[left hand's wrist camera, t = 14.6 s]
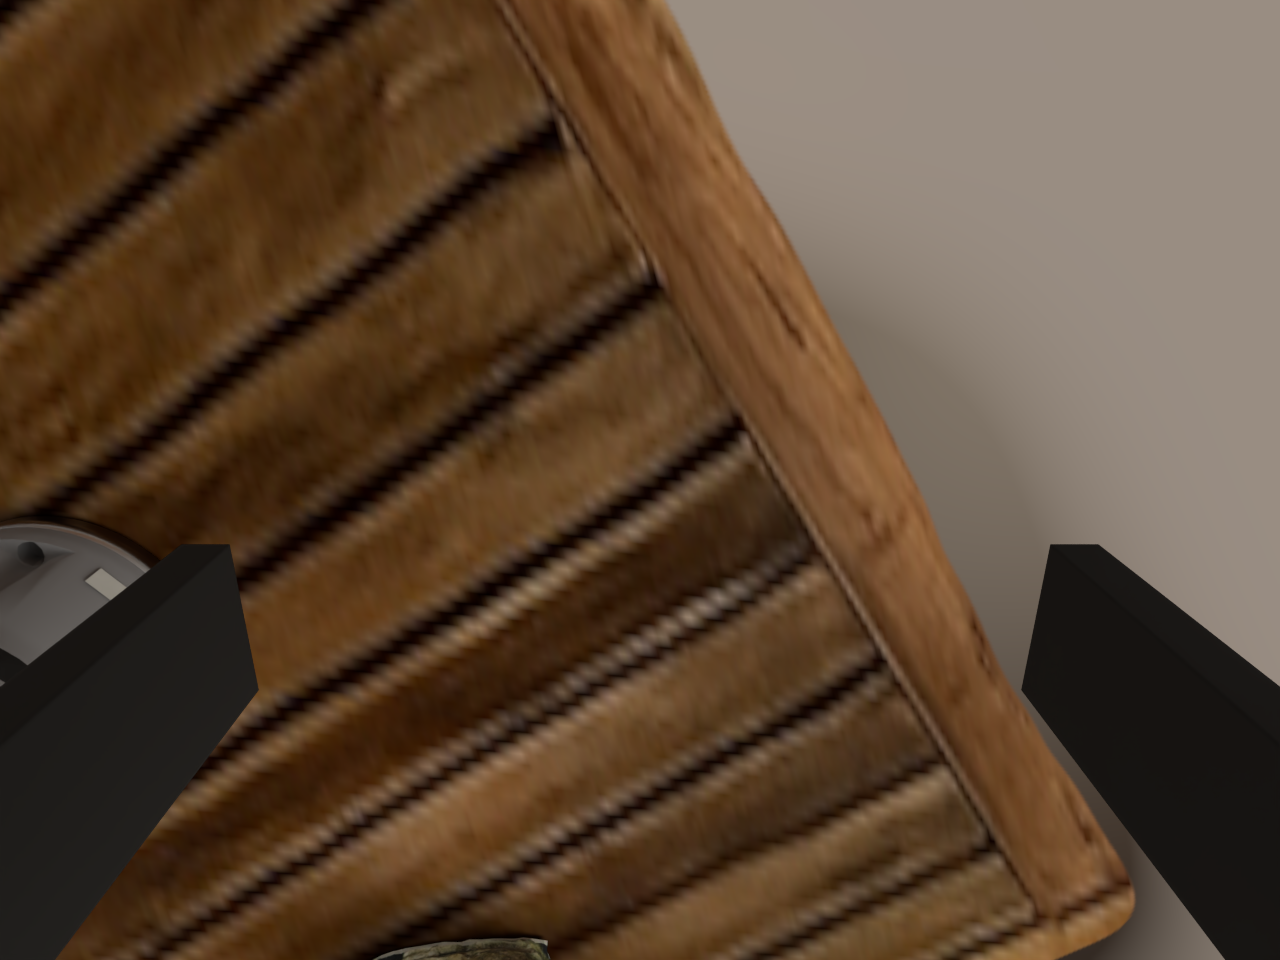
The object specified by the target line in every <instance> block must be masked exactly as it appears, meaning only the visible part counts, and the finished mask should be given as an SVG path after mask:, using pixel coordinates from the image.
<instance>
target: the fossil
mask: <svg viewBox="0 0 1280 960" xmlns="http://www.w3.org/2000/svg"><path fill="white" fill-rule="evenodd" d="M374 960H550V957H549V955H548V952H547V941H546V940H539V939H533V938H524V937H523V938H516V939H507V938H497V939H469V940H466V941H464V942H440V943H434V944H428V945H422V946H416V947H410V948H405V949H401V950H397V951H392V952H390V953H387V954H384V955H381V956H379V957H377V958H375V959H374Z"/></svg>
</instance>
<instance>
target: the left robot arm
mask: <svg viewBox="0 0 1280 960" xmlns="http://www.w3.org/2000/svg"><path fill="white" fill-rule="evenodd" d="M258 690H259V689H258V684H257V679H256V674H255V669H254V664H253V659H252V654H251V649H250V644H249V639H248V634H247V629H246V624H245V619H244V614H243V609H242V604H241V599H240V594H239V589H238V584H237V579H236V574H235V569H234V564H233V559H232V554H231V549H230V544H182V545H180V546H179V547H178V548H176V549H175V550H174V551H173V552H171V553H170V554H169V555H168V556H166V557H165V558H164V559H162V560H161V561H160V560H158V559H157V558H156V557H155V556H154V555H152V554H151V553H149V552H148V551H147V550H145V549H144V548H142V547H141V546H139V545H138V544H136V543H134V542H133V541H131V540H129V539H127V538H125V537H123V536H122V535H120V534H118V533H115V532H113V531H111V530H108V529H106V528H103V527H100V526H97V525H94V524H91V523H88V522H84V521H80V520H76V519H70V518H64V517H55V516H29V517H20V518H15V519H10V520H6V521H3V522H0V960H55V959H56V958H57V956H58V955H59V954H60V952H61V951H62V950H63V948H64V947H65V946H66V944H67V943H68V942H69V940H70V939H71V938H72V936H73V935H74V934H75V932H76V931H77V930H78V928H79V927H80V926H81V924H82V923H83V922H84V920H85V919H86V918H87V917H88V915H89V914H90V913H91V911H92V910H93V909H94V907H95V906H96V905H97V903H98V902H99V901H100V899H101V898H102V897H103V895H104V894H105V893H106V891H107V890H108V889H109V887H110V886H111V885H112V883H113V882H114V881H115V879H116V878H117V877H118V875H119V874H120V873H121V871H122V870H123V869H124V868H125V866H126V865H127V864H128V862H129V861H130V860H131V858H132V857H133V856H134V854H135V853H136V852H137V850H138V849H139V848H140V846H141V845H142V844H143V842H144V841H145V840H146V838H147V837H148V836H149V834H150V833H151V832H152V830H153V829H154V828H155V826H156V825H157V824H158V823H159V821H160V820H161V819H162V817H163V816H164V815H165V813H166V812H167V811H168V809H169V808H170V807H171V805H172V804H173V803H174V801H175V800H176V799H177V797H178V796H179V795H180V793H181V792H182V791H183V789H184V788H185V787H186V785H187V784H188V783H189V781H190V780H191V779H192V778H193V776H194V775H195V774H196V772H197V771H198V770H199V768H200V767H201V766H202V764H203V763H204V762H205V760H206V759H207V758H208V756H209V755H210V754H211V752H212V751H213V750H214V748H215V747H216V746H217V744H218V743H219V742H220V740H221V739H222V738H223V736H224V735H225V734H226V733H227V731H228V730H229V729H230V727H231V726H232V725H233V723H234V722H235V721H236V719H237V718H238V717H239V715H240V714H241V713H242V711H243V710H244V709H245V707H246V706H247V705H248V703H249V702H250V701H251V699H252V698H253V697H254V695H255V694H256V693H257V691H258ZM1021 690H1022V691H1023V693H1024V694H1025V695H1026V697H1027V698H1028V699H1029V701H1030V702H1031V703H1032V705H1033V706H1034V707H1035V709H1036V710H1037V711H1038V713H1039V714H1040V715H1041V717H1042V718H1043V719H1044V721H1045V722H1046V723H1047V725H1048V726H1049V727H1050V729H1051V730H1052V731H1053V733H1054V734H1055V735H1056V736H1057V738H1058V739H1059V740H1060V742H1061V743H1062V744H1063V746H1064V747H1065V748H1066V750H1067V751H1068V752H1069V754H1070V755H1071V756H1072V758H1073V759H1074V760H1075V762H1076V763H1077V764H1078V765H1079V767H1080V768H1081V770H1082V771H1083V772H1084V773H1085V775H1086V776H1087V778H1088V779H1089V780H1090V781H1091V783H1092V784H1093V785H1094V787H1095V788H1096V789H1097V791H1098V792H1099V793H1100V795H1101V796H1102V797H1103V799H1104V800H1105V801H1106V803H1107V804H1108V805H1109V807H1110V808H1111V809H1112V811H1113V812H1114V813H1115V815H1116V816H1117V817H1118V819H1119V820H1120V821H1121V822H1122V824H1123V825H1124V826H1125V828H1126V829H1127V830H1128V832H1129V833H1130V834H1131V836H1132V837H1133V838H1134V840H1135V841H1136V842H1137V844H1138V845H1139V846H1140V848H1141V849H1142V850H1143V852H1144V853H1145V854H1146V856H1147V857H1148V858H1149V860H1150V861H1151V862H1152V864H1153V865H1154V866H1155V868H1156V869H1157V870H1158V871H1159V873H1160V874H1161V875H1162V877H1163V878H1164V879H1165V881H1166V882H1167V883H1168V885H1169V886H1170V887H1171V889H1172V890H1173V891H1174V893H1175V894H1176V895H1177V897H1178V898H1179V899H1180V901H1181V902H1182V903H1183V905H1184V906H1185V907H1186V909H1187V910H1188V911H1189V913H1190V914H1191V915H1192V916H1193V918H1194V919H1195V920H1196V922H1197V923H1198V924H1199V926H1200V927H1201V928H1202V930H1203V931H1204V932H1205V934H1206V935H1207V936H1208V938H1209V939H1210V940H1211V942H1212V943H1213V944H1214V946H1215V947H1216V948H1217V950H1218V951H1219V952H1220V954H1221V955H1222V956H1223V958H1224V959H1225V960H1280V686H1278V685H1277V684H1276V683H1275V682H1273V681H1272V680H1271V679H1269V678H1268V677H1267V676H1265V675H1264V674H1263V673H1262V672H1260V671H1259V670H1258V669H1257V668H1255V667H1254V666H1253V665H1252V664H1250V663H1249V662H1248V661H1246V660H1245V659H1244V658H1243V657H1241V656H1240V655H1239V654H1238V653H1236V652H1235V651H1234V650H1232V649H1231V648H1230V647H1229V646H1227V645H1226V644H1225V643H1223V642H1222V641H1221V640H1220V639H1218V638H1217V637H1216V636H1215V635H1213V634H1212V633H1211V632H1209V631H1208V630H1207V629H1206V628H1204V627H1203V626H1202V625H1200V624H1199V623H1198V622H1197V621H1195V620H1194V619H1193V618H1192V617H1190V616H1189V615H1188V614H1186V613H1185V612H1184V611H1183V610H1181V609H1180V608H1179V607H1178V606H1176V605H1175V604H1174V603H1172V602H1171V601H1170V600H1169V599H1167V598H1166V597H1165V596H1164V595H1162V594H1161V593H1160V592H1158V591H1157V590H1156V589H1155V588H1153V587H1152V586H1151V585H1149V584H1148V583H1147V582H1146V581H1144V580H1143V579H1142V578H1141V577H1139V576H1138V575H1137V574H1135V573H1134V572H1133V571H1132V570H1130V569H1129V568H1128V567H1126V566H1125V565H1124V564H1123V563H1121V562H1120V561H1119V560H1117V559H1116V558H1115V557H1114V556H1112V555H1111V554H1110V553H1109V552H1107V551H1106V550H1105V549H1104V548H1102V547H1101V546H1100V545H1098V544H1051V545H1050V549H1049V554H1048V559H1047V564H1046V569H1045V574H1044V580H1043V584H1042V589H1041V594H1040V599H1039V604H1038V609H1037V614H1036V620H1035V624H1034V629H1033V634H1032V639H1031V644H1030V649H1029V655H1028V660H1027V664H1026V669H1025V674H1024V679H1023V684H1022V689H1021Z"/></svg>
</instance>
